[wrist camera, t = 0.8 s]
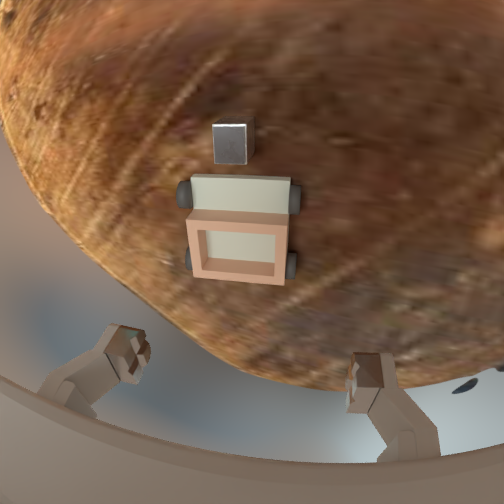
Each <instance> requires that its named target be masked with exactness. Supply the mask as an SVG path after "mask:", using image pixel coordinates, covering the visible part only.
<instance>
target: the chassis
mask: <svg viewBox="0 0 504 504" xmlns="http://www.w3.org/2000/svg"><path fill="white" fill-rule="evenodd" d="M300 198H301V186H300V185H291V177H276V176H255V175H227V174H193V175H192V177H191V181H180V182H179V184H178V187H177V192H176V200H177V205H178V207H179V208H189V209H191V208H192V207H193V206H194V209H193V211H192V212H191V213H190V215H189V216H188V217H187V219H186V224H187V232H188V240H189V246H188V248H187V251H186V256H185V264H186V268H187V269H188V270H193V275H194V277H200V278H209V279H219V280H230V281H240V282H251V283H262V284H273V285H284V282H285V279H295V271H296V258H297V253H287V250H288V230H289V214H295V215H299V214H300Z"/></svg>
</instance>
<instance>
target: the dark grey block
mask: <svg viewBox="0 0 504 504" xmlns="http://www.w3.org/2000/svg"><path fill="white" fill-rule="evenodd" d="M212 125H213V144H214V162H215V164H248V162H249V160H250V159H251V157H252V155H253V154H254V152H255V124H254V116H225V117H223V118H221V119H220V120H218V121H217V122H215V123H214V124H212Z"/></svg>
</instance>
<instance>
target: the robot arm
mask: <svg viewBox="0 0 504 504" xmlns="http://www.w3.org/2000/svg"><path fill="white" fill-rule="evenodd" d="M145 337H146V334H145V331H144V330H141V329H136V328H132V327H127V326H123V325H118V324H114V323H111V324H110V325H108V327H107V328H106V330H105V331H104V333H103V335H102V336H101V338H100V339H99V341H98V342H97V344H96V346H95V347H94V349H93V350H89V351H87V352H85V353H83V354H81V355H80V356H78V357H76V358H74V359H73V360H71V361H69V362H68V363H66V364H64V365H62V366H61V367H59V368H57V369H55V370H54V371H52V372H50V373H49V375H48V376H47V378H46V379H45V381H44V383H43V384H42V386H41V387H40V389H39V391H38V392H37V394H36V393H34V392H32V391H30V390H28V389H26V388H24V387H22V386H20V385H18V384H16V383H14V382H12V381H10V380H9V379H7V378H5V377H3V376H1V375H0V504H504V443H503V444H499V445H495V446H491V447H487V448H482V449H478V450H473V451H468V452H463V453H457V454H451V455H445V456H441V453H440V445H439V438H438V432H437V427H436V426H435V425H434V424H433V423H432V421H431V420H430V419H429V418H428V417H427V416H426V415H425V413H424V412H423V411H422V410H421V409H420V408H419V407H418V406H417V404H415V402H414V401H413V400H412V399H411V398H410V397H409V395H408V394H407V393H406V392H405V391H404V390H403V389H402V388H398V382H397V376H396V370H395V364H394V359H393V355H392V353H363V352H353V354H352V356H351V364H350V365H349V366H348V369H347V373H346V390H347V391H348V394H347V397H346V413H365V414H366V413H367V415H368V417H369V418H370V420H371V421H372V423H373V424H374V426H375V428H376V429H377V431H378V432H379V434H380V435H381V437H382V438H383V440H384V441H385V443H386V445H387V448H386V449H385V450H384V451H383V453H381V455H380V456H379V457H378V458H377V462H376V463H313V462H312V463H311V462H294V461H282V460H272V459H263V458H254V457H247V456H240V455H233V454H227V453H221V452H216V451H210V450H205V449H200V448H195V447H191V446H186V445H182V444H178V443H174V442H169V441H165V440H161V439H158V438H154V437H150V436H147V435H143V434H140V433H137V432H133V431H130V430H127V429H123V428H121V427H117V426H115V425H111V424H109V423H106V422H103V421H100V420H98V419H96V417H97V414H96V412H95V411H94V410H93V408H92V407H91V406H90V405H92V404H93V403H94V402H96V401H97V400H98V399H99V398H101V397H102V396H103V395H104V394H105V393H107V392H108V391H109V390H110V389H112V388H113V387H114V386H116V385H117V384H118V383H119V382H120V381H123V382H127V383H132V384H136V385H138V383H139V381H140V379H141V376H142V374H143V370H142V367H144V366H145V365H147V364H148V362H149V359H150V354H151V349H150V345H149V343H148V342H147V341H146V340H145Z"/></svg>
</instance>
